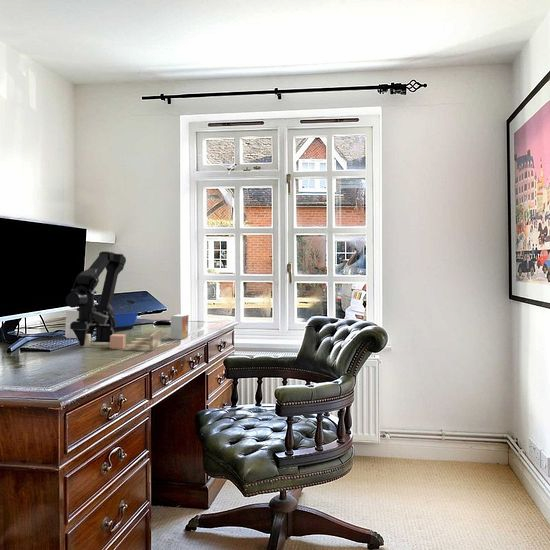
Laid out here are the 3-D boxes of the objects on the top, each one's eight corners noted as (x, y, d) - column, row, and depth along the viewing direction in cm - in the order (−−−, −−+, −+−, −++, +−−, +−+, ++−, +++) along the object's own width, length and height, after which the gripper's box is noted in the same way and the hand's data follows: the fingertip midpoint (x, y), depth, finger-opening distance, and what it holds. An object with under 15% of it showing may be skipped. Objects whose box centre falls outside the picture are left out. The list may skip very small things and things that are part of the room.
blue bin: (121, 327, 263) (122, 309, 263) (138, 330, 255) (139, 311, 255) (95, 330, 250) (96, 311, 250) (112, 333, 243) (113, 313, 242)
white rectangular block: (90, 336, 231) (91, 309, 230) (81, 339, 222) (81, 311, 221) (71, 335, 232) (72, 308, 231) (61, 338, 223) (61, 310, 222)
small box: (181, 339, 229) (182, 316, 229) (170, 338, 230) (170, 315, 230) (188, 337, 237) (188, 314, 236) (176, 336, 238) (177, 314, 237)
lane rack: (125, 350, 199) (125, 334, 199) (135, 342, 216) (136, 328, 216) (152, 350, 200) (153, 335, 199) (160, 343, 217) (161, 329, 217)
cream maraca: (80, 347, 200) (80, 335, 200) (83, 345, 205) (84, 333, 205) (122, 348, 202) (123, 336, 202) (125, 346, 207) (125, 334, 207)
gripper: (99, 308, 194) (98, 349, 194) (113, 304, 212) (112, 341, 213) (69, 307, 193) (69, 348, 194) (86, 303, 212) (85, 340, 212)
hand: (85, 344), depth 203 cm, fingers open, 7 cm apart
